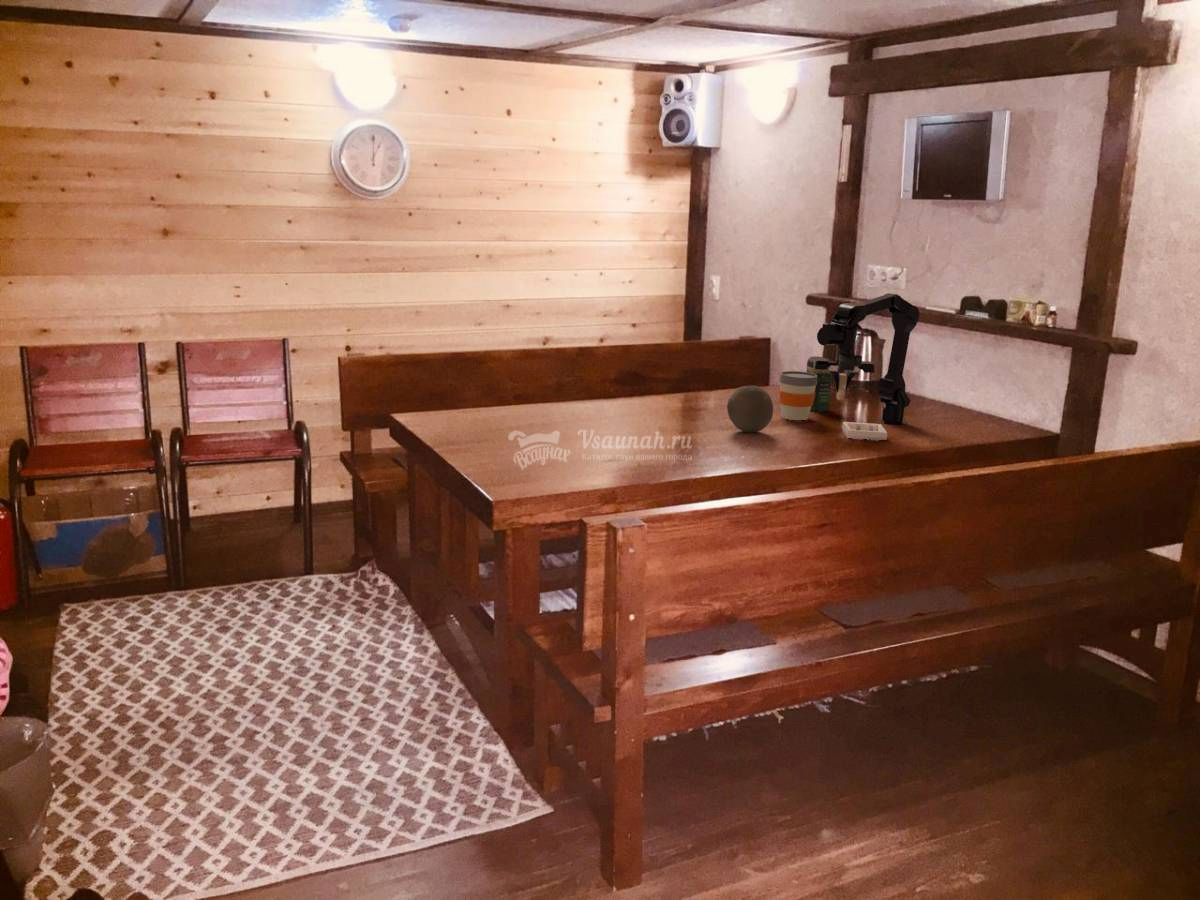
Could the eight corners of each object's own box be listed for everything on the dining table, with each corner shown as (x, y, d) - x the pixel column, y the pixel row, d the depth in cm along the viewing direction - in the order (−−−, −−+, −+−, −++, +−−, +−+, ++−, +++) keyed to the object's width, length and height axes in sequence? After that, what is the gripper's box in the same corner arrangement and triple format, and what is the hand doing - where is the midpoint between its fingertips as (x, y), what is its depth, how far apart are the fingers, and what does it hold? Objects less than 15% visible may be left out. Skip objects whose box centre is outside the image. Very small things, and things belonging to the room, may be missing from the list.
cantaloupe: (733, 425, 321) (737, 379, 317) (776, 431, 315) (780, 385, 311) (719, 434, 309) (723, 386, 305) (763, 440, 303) (767, 392, 299)
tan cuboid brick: (842, 397, 323) (845, 373, 321) (844, 400, 319) (846, 376, 317) (836, 397, 323) (838, 373, 321) (837, 400, 319) (840, 375, 317)
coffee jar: (832, 411, 348) (838, 359, 343) (812, 412, 346) (818, 359, 341) (818, 405, 357) (823, 354, 352) (799, 406, 354) (804, 355, 350)
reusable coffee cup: (801, 413, 343) (806, 370, 339) (820, 421, 332) (825, 377, 328) (769, 414, 339) (773, 371, 335) (787, 422, 328) (791, 378, 324)
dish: (879, 431, 321) (880, 422, 320) (886, 441, 309) (887, 431, 309) (842, 429, 322) (843, 420, 321) (847, 438, 310) (848, 428, 310)
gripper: (819, 346, 309) (814, 395, 313) (880, 349, 308) (874, 398, 312) (815, 340, 320) (810, 388, 324) (874, 344, 318) (869, 391, 322)
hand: (841, 391), depth 320 cm, fingers closed on tan cuboid brick, 2 cm apart
